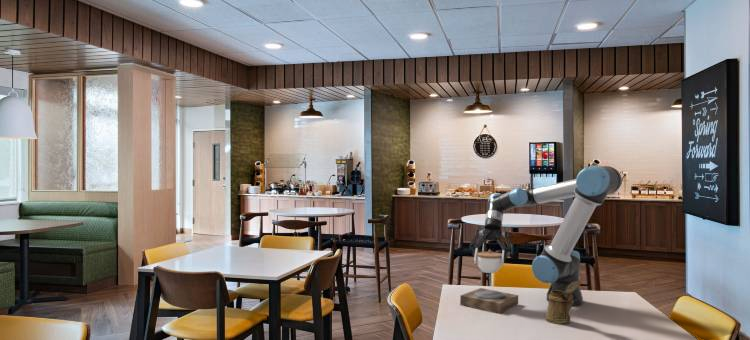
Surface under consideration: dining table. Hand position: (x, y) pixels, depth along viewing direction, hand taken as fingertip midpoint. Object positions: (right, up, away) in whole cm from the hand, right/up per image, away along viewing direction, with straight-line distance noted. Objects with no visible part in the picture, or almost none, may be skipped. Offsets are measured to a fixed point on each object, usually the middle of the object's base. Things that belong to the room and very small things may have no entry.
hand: (488, 263), depth 216 cm
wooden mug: (+24, -19, -21) cm, 37 cm away
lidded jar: (+1, -4, +3) cm, 5 cm away
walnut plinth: (+1, -18, +1) cm, 18 cm away
